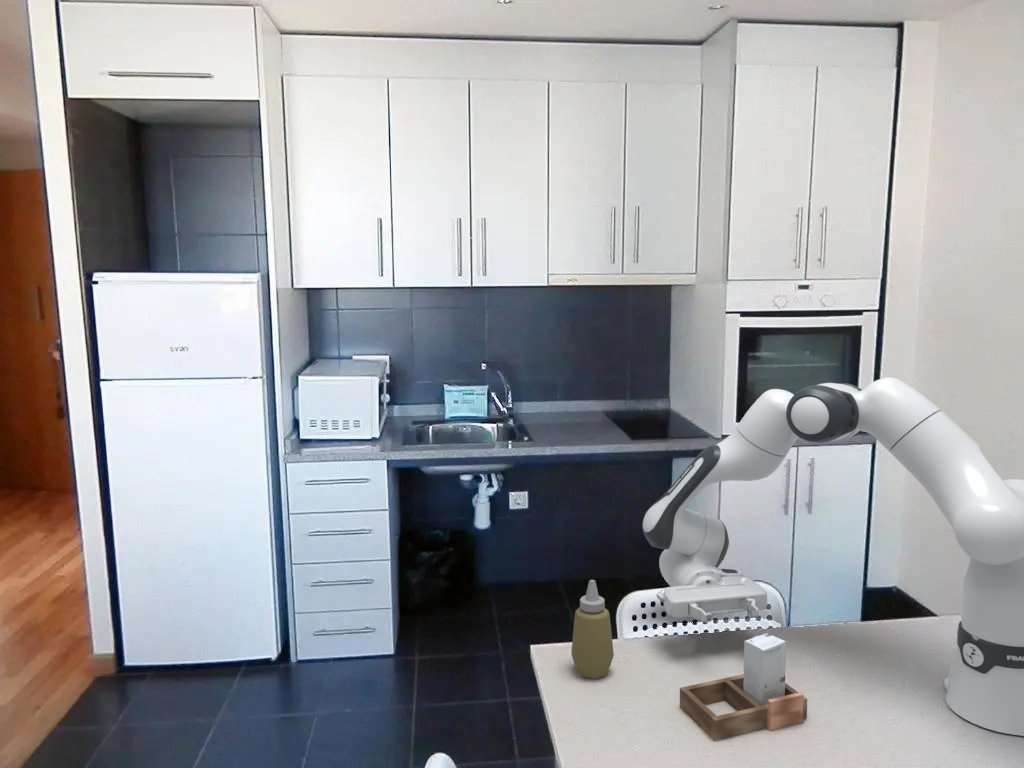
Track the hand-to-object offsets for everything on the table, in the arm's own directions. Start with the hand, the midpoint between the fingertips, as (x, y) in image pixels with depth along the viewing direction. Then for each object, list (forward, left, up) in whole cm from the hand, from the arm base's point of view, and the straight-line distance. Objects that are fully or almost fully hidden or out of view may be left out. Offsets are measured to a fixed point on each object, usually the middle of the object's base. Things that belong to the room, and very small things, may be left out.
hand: (731, 616), depth 138 cm
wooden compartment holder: (+7, +13, -11) cm, 18 cm away
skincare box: (+2, +13, -11) cm, 17 cm away
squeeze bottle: (+25, -9, -11) cm, 28 cm away
